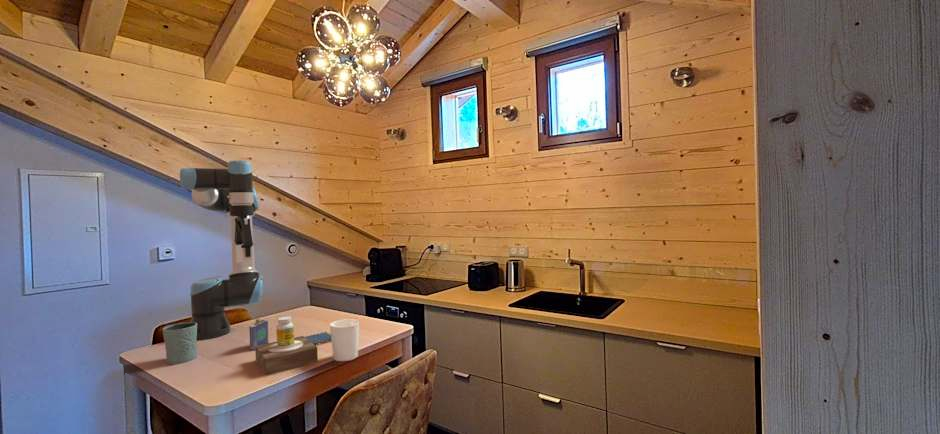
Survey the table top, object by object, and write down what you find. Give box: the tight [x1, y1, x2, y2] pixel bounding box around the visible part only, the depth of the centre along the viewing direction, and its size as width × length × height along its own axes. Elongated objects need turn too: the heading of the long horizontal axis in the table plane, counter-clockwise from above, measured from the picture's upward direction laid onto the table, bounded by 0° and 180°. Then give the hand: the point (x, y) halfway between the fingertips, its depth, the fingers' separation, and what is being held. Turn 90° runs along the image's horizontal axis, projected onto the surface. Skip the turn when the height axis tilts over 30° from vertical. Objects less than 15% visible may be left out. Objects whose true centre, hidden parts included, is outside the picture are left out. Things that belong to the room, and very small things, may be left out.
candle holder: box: [329, 318, 360, 362], centre depth 144 cm, size 10×10×12 cm
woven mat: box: [304, 331, 332, 347], centre depth 162 cm, size 10×11×2 cm
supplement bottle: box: [276, 316, 295, 348], centre depth 141 cm, size 5×5×10 cm
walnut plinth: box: [254, 335, 319, 376], centre depth 141 cm, size 16×16×5 cm
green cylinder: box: [161, 321, 198, 365], centre depth 145 cm, size 10×10×12 cm
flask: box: [248, 318, 269, 351], centre depth 157 cm, size 9×3×11 cm, turn 172°
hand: (244, 264), depth 147 cm, fingers open, 13 cm apart
